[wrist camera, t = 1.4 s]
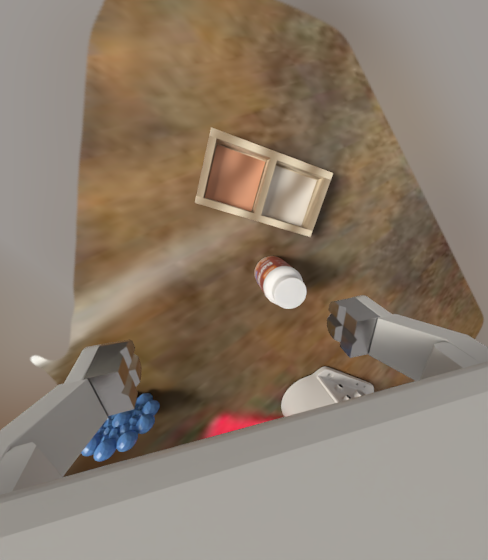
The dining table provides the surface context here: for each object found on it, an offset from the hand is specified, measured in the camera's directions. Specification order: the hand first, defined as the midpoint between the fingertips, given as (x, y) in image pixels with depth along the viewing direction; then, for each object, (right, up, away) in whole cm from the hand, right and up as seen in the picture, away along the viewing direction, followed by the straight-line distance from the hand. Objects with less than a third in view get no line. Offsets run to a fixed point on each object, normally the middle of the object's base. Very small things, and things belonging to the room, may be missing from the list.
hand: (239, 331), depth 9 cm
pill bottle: (+5, +4, +33) cm, 34 cm away
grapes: (-22, -22, +37) cm, 48 cm away
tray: (+3, +17, +28) cm, 33 cm away
